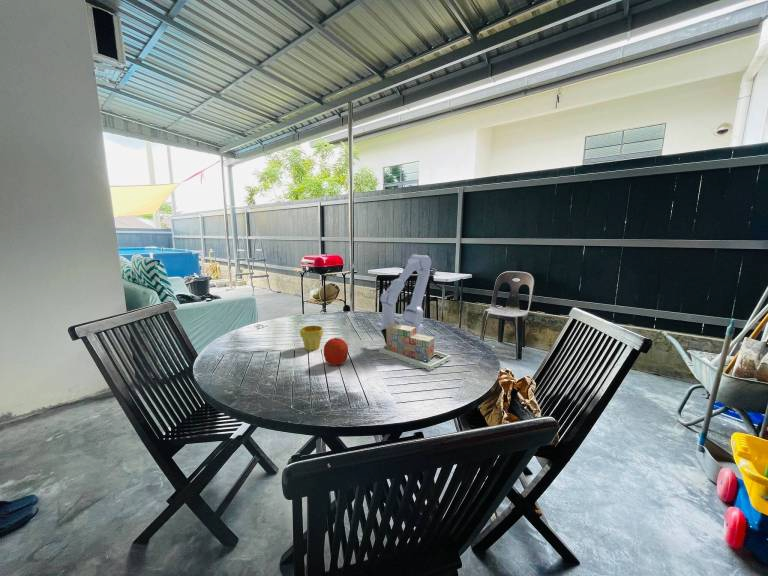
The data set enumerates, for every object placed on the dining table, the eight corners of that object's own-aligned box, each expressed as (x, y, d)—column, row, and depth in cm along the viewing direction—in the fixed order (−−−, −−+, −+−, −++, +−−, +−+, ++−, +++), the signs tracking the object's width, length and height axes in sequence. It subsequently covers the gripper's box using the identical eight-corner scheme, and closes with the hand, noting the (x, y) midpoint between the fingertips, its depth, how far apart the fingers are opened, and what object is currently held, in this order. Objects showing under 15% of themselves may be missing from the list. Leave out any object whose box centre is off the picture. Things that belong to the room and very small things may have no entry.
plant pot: (310, 354, 140) (310, 333, 138) (296, 348, 146) (295, 328, 144) (327, 347, 148) (327, 328, 146) (313, 342, 154) (313, 324, 153)
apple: (324, 369, 124) (324, 342, 122) (322, 360, 134) (322, 334, 132) (349, 367, 127) (349, 340, 125) (346, 357, 136) (345, 332, 134)
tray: (400, 343, 155) (400, 339, 155) (450, 359, 135) (451, 355, 135) (378, 351, 144) (378, 347, 143) (430, 370, 124) (430, 366, 124)
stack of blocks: (434, 357, 138) (434, 330, 135) (428, 362, 133) (428, 334, 130) (393, 347, 149) (393, 322, 147) (386, 351, 144) (386, 326, 142)
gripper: (371, 315, 150) (371, 342, 152) (394, 321, 140) (393, 350, 142) (381, 312, 155) (381, 338, 157) (404, 318, 145) (403, 346, 147)
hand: (387, 344), depth 150 cm, fingers closed
